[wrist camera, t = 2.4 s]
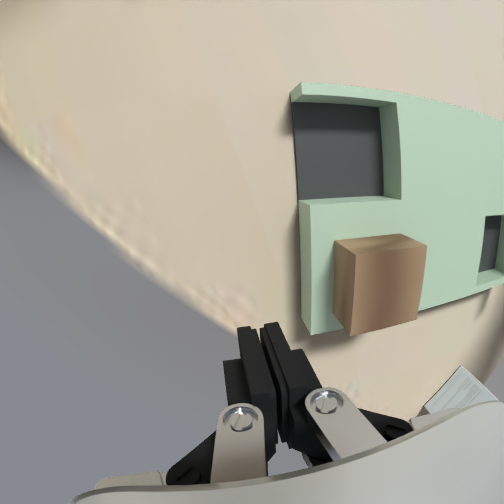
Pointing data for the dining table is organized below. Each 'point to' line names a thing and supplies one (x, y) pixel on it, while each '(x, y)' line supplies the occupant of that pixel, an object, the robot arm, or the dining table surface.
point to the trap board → (397, 188)
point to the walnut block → (377, 281)
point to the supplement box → (459, 392)
